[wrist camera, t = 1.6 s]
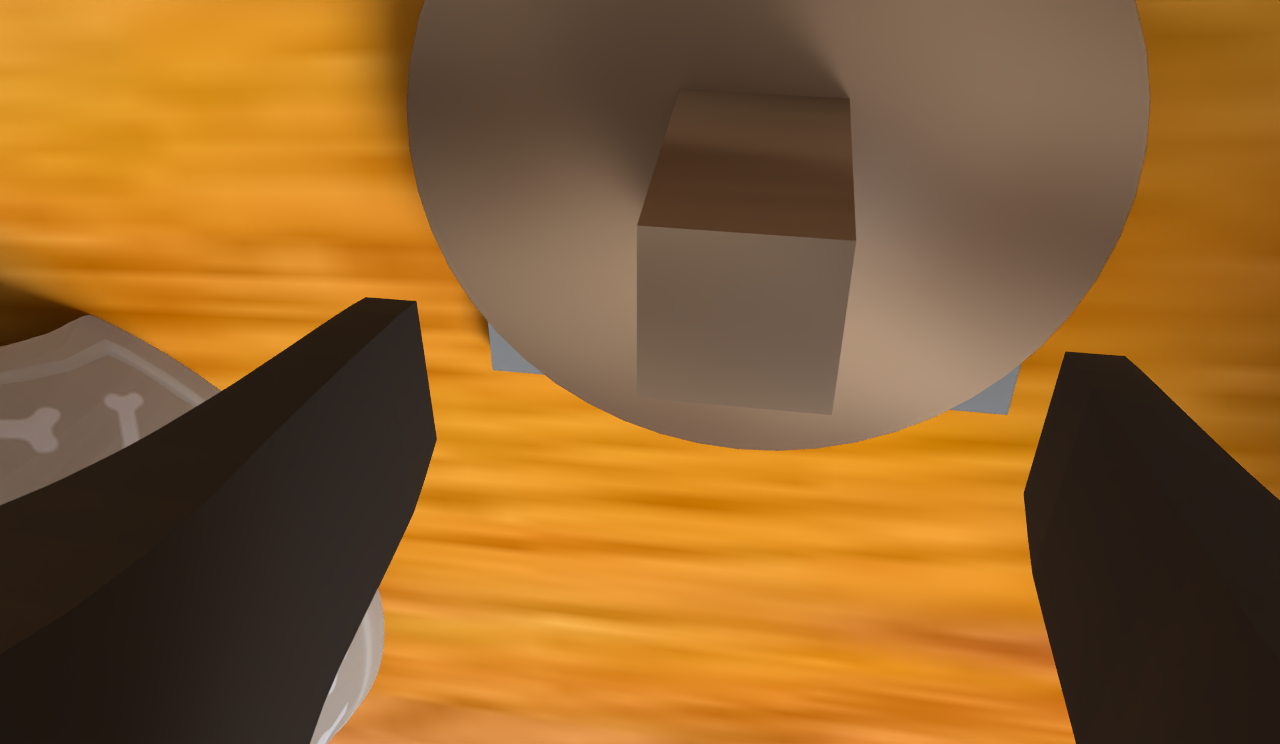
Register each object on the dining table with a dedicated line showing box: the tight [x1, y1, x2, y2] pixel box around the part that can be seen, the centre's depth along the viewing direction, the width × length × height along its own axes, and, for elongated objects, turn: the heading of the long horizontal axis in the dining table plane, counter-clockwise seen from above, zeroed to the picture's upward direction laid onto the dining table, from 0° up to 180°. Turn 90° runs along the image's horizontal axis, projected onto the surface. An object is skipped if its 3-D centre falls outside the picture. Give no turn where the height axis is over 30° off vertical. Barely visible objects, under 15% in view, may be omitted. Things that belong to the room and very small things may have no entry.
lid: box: [407, 0, 1150, 451], centre depth 15 cm, size 12×12×5 cm
